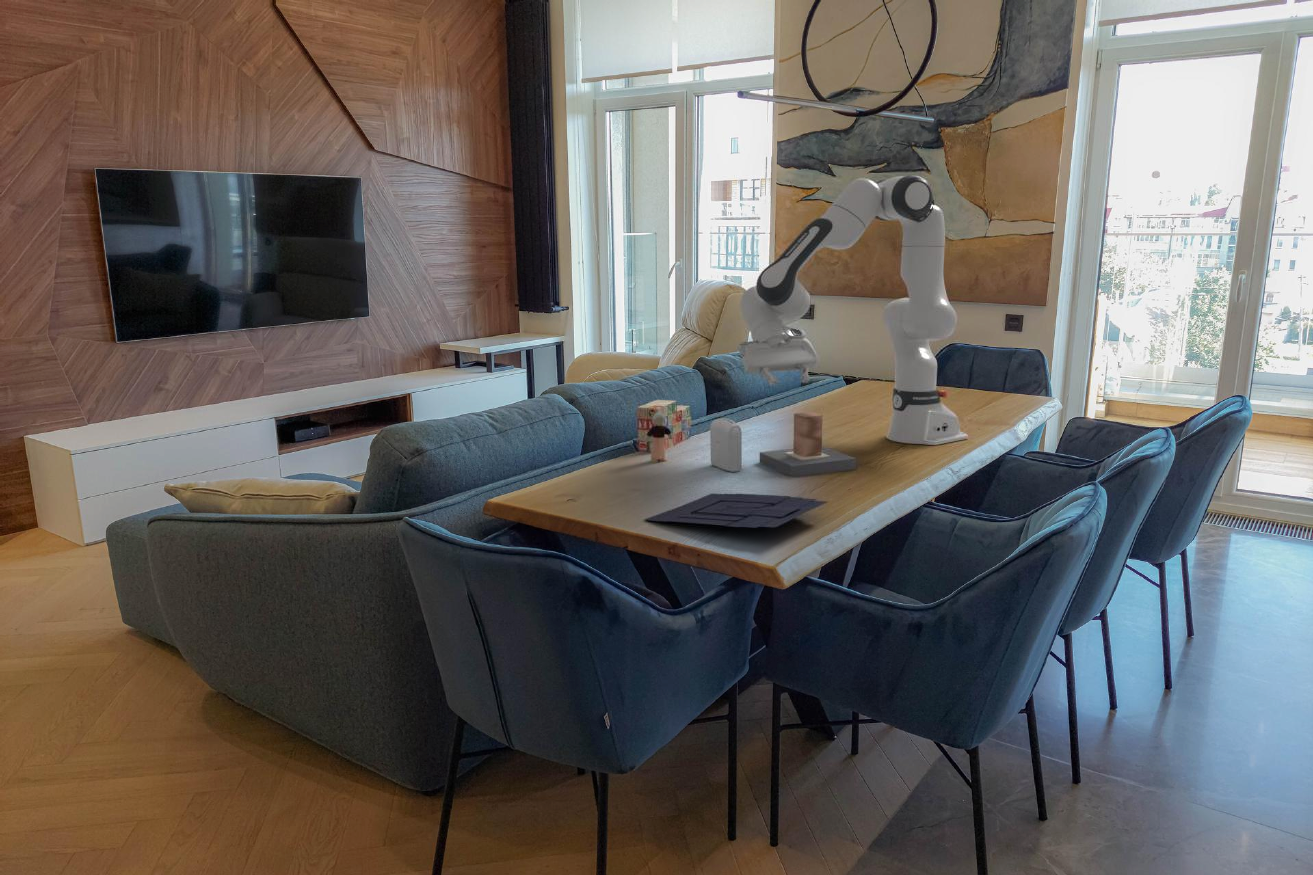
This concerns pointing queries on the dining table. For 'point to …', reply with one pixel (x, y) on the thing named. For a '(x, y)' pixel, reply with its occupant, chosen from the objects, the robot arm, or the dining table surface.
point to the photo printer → (726, 445)
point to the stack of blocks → (675, 422)
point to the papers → (740, 510)
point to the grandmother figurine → (658, 438)
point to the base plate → (807, 462)
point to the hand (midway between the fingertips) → (790, 382)
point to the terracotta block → (807, 434)
